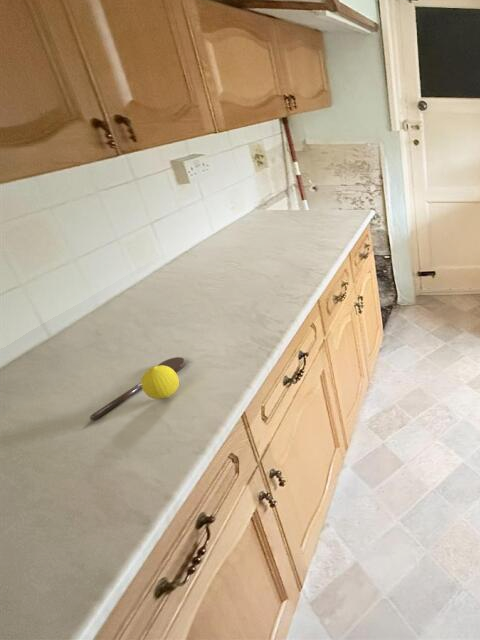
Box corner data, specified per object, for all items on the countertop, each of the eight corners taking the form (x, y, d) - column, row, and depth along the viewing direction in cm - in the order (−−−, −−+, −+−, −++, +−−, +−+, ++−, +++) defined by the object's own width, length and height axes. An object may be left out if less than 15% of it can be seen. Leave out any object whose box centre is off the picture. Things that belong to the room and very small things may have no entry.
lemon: (143, 403, 81) (127, 373, 77) (172, 385, 85) (158, 355, 82) (163, 410, 79) (147, 379, 76) (190, 390, 84) (177, 361, 80)
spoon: (102, 423, 76) (99, 419, 76) (82, 419, 77) (79, 414, 77) (191, 362, 92) (189, 358, 92) (173, 359, 93) (171, 354, 93)
